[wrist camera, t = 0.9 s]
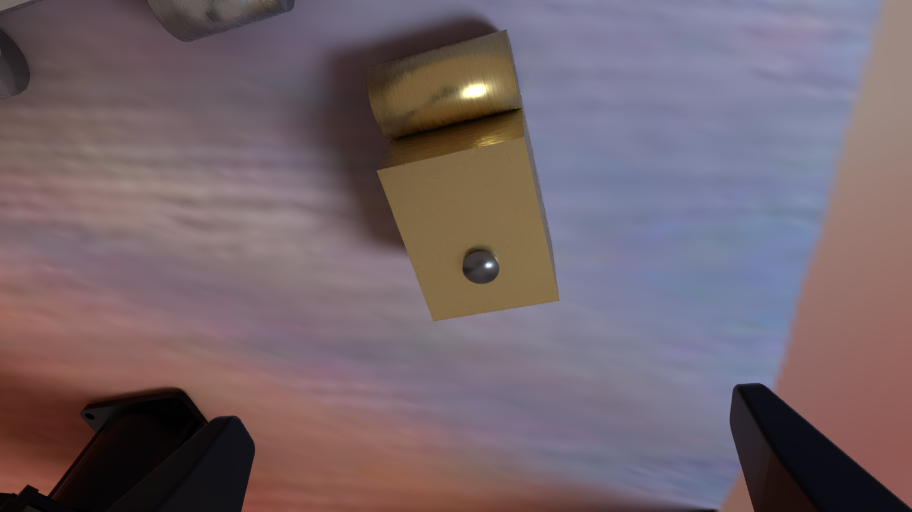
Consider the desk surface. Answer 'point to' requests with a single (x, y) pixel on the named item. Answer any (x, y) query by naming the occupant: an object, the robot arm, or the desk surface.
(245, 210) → the desk surface
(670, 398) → the desk surface
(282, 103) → the desk surface
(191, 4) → the steel leaf
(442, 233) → the brass leaf
